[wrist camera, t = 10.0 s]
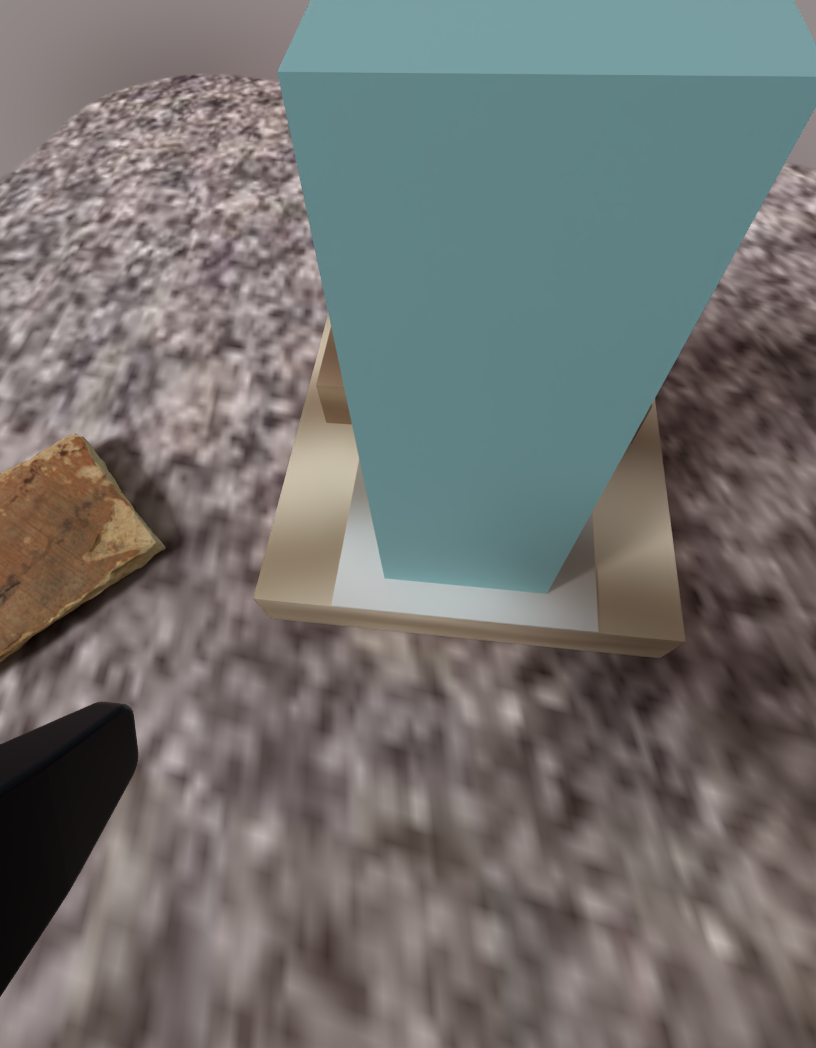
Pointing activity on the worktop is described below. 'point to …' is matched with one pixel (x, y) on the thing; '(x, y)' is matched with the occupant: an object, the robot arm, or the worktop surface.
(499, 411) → the tall block
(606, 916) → the worktop surface
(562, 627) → the beige tray
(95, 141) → the worktop surface
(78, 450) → the shard
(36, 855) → the robot arm
